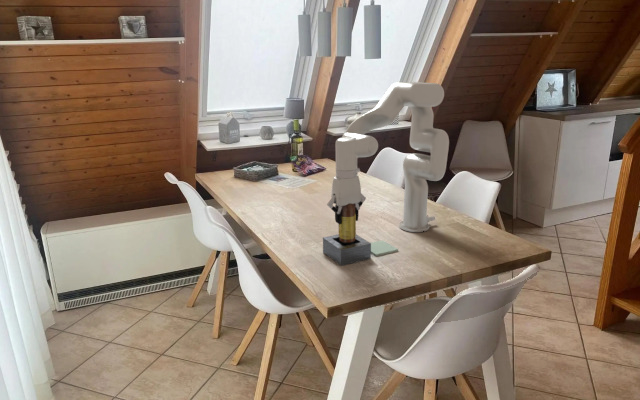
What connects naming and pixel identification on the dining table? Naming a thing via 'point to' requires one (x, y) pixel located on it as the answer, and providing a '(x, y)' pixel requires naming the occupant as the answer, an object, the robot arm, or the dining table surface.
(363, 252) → the collar
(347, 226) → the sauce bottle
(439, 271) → the dining table surface
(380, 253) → the mat
